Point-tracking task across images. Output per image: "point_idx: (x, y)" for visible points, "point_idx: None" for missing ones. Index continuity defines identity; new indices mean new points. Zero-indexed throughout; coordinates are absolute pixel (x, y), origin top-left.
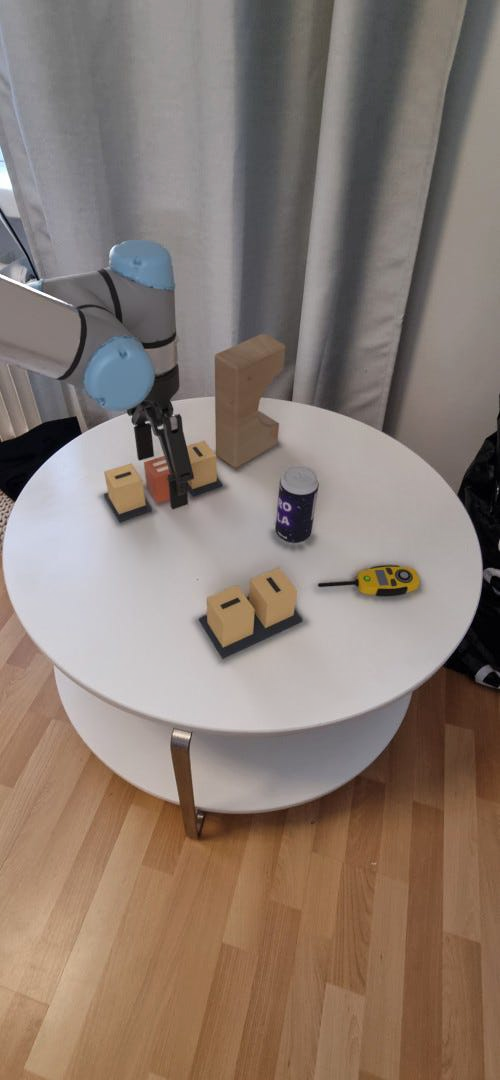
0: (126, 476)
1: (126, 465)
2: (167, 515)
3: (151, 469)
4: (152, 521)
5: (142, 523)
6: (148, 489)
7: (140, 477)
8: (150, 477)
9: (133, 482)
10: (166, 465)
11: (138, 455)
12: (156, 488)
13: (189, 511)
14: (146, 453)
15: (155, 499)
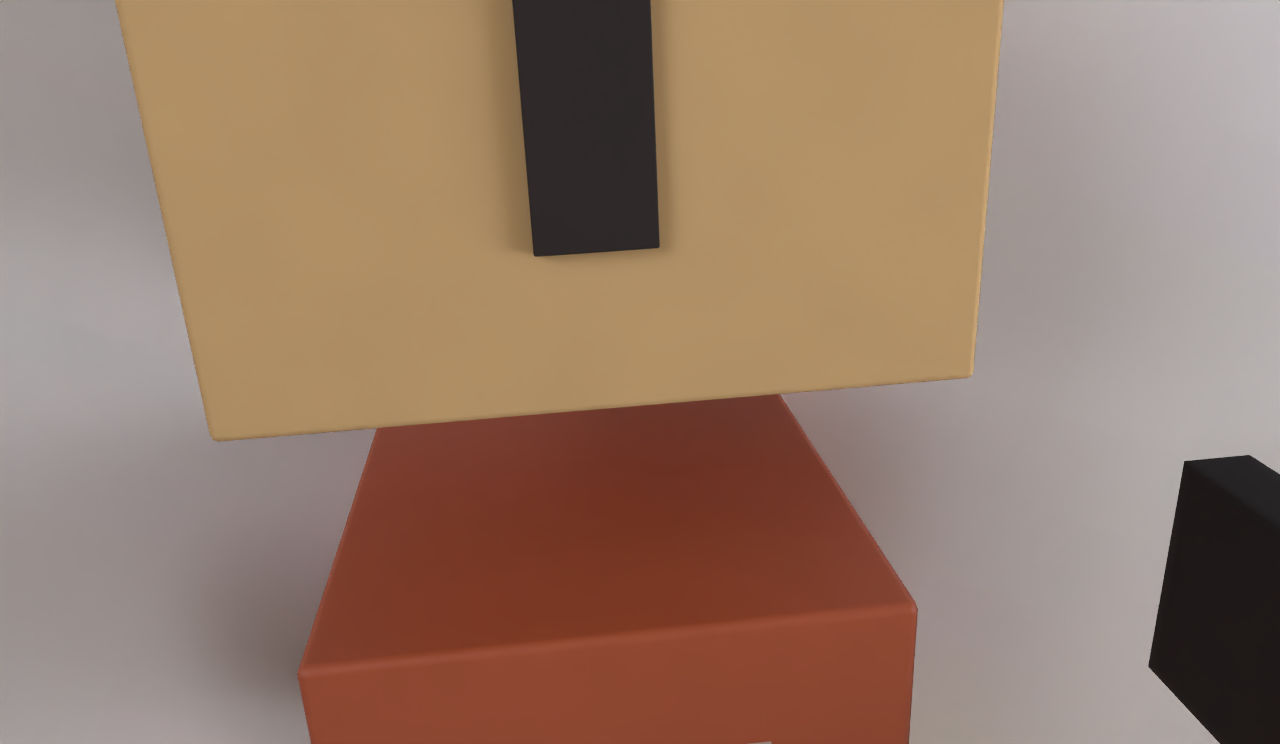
0: (500, 85)
1: (948, 236)
2: (125, 432)
3: (622, 682)
4: (56, 214)
5: (50, 63)
6: None
7: (310, 426)
8: (569, 547)
9: (159, 190)
10: None
11: (1262, 507)
12: (348, 530)
13: (124, 680)
14: (1226, 629)
15: None
